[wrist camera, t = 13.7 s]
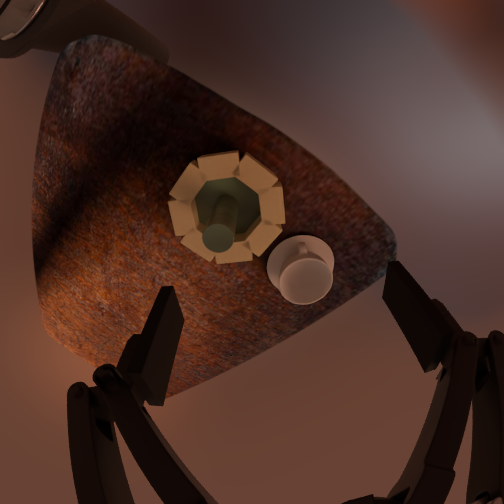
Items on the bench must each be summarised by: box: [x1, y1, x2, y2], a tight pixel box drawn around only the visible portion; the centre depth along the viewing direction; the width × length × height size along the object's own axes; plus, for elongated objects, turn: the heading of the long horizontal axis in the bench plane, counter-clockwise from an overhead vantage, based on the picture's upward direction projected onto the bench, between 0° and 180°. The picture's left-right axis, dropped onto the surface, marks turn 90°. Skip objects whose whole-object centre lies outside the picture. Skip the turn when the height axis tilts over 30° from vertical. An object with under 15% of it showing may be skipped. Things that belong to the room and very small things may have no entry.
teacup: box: [267, 235, 334, 304], centre depth 38 cm, size 10×10×5 cm
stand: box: [195, 177, 261, 253], centre depth 30 cm, size 9×9×12 cm
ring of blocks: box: [168, 150, 285, 264], centre depth 33 cm, size 14×14×3 cm
